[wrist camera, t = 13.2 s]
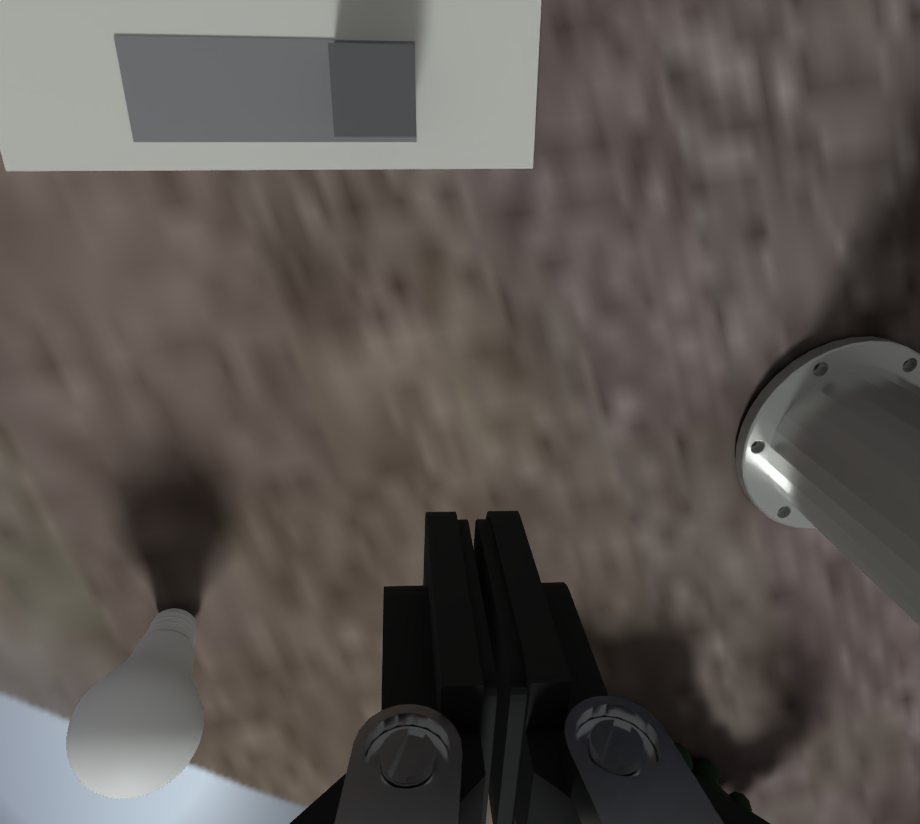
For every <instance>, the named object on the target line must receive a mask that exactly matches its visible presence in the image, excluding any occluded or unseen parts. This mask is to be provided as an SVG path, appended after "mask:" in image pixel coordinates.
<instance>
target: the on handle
mask: <svg viewBox="0 0 920 824" xmlns="http://www.w3.org/2000/svg"><path fill="white" fill-rule="evenodd" d="M328 53H329V68H330V82H331V97H332V111H333V126H334V137H416V92H415V44H362V43H328Z"/></svg>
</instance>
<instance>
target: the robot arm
mask: <svg viewBox="0 0 920 824" xmlns="http://www.w3.org/2000/svg"><path fill="white" fill-rule="evenodd" d="M735 463H736V469H737V475H738V479H739V481H740V484H741V486H742V488H743V491H744V492H745V494H746V495H747V496H748V498H749V499H750V500H751V501H752V503H753V504H754V505H755V506H756V507H757V508H758V509H760V510H761V511H762V512H763V513H764V514H765V515H766V516H768V517H769V518H771V519H772V520H774V521H776V522H778V523H781V524H784V525H787V526H791V527H795V528H805V529H816V528H817V529H818V530H819V531H820V532H821V533H822V534H823V535H824V536H825V537H826V538H827V539H828V540H829V541H830V542H832V543H833V544H834V545H835V546H836V547H837V548H838V549H839V550H840V551H841V552H842V553H843V554H844V555H845V556H846V557H847V558H848V559H850V560H851V561H852V562H853V563H854V564H855V565H856V566H857V567H858V568H859V569H860V570H861V571H862V572H863V573H864V574H865V575H866V576H868V577H869V578H870V579H871V580H872V581H873V582H874V583H875V584H876V585H877V586H878V587H879V588H880V589H881V590H882V591H883V592H884V593H886V594H887V595H888V596H889V597H890V598H891V599H892V600H893V601H894V602H895V603H896V604H897V605H898V606H899V607H900V608H901V609H902V610H903V611H905V612H906V613H907V614H908V615H909V616H910V617H911V618H912V619H913V620H914V621H915V622H916V623H917V624H918V625H919V626H920V354H919V353H917V352H916V351H914V350H912V349H911V348H909V347H907V346H904V345H902V344H900V343H897V342H895V341H892V340H890V339H885V338H879V337H873V336H866V337H850V338H846V339H841V340H837V341H833V342H830V343H828V344H825V345H823V346H820V347H818V348H815V349H813V350H811V351H809V352H808V353H806V354H804V355H803V356H801V357H799V358H798V359H796V360H794V361H793V362H791V363H790V364H789V365H788V366H787V367H785V368H784V369H783V370H782V371H780V372H779V373H778V374H777V375H776V376H775V377H774V378H773V379H772V380H771V381H770V382H769V383H768V384H767V386H766V387H765V388H764V389H763V390H762V391H761V392H760V394H759V395H758V397H757V398H756V400H755V401H754V403H753V404H752V406H751V407H750V409H749V411H748V413H747V415H746V417H745V419H744V422H743V424H742V426H741V429H740V433H739V437H738V441H737V444H736V460H735ZM488 793H489V800H490V807H491V814H492V821H493V824H770V823H768V822H767V821H765V820H763V819H762V818H760V817H759V816H757V815H755V814H754V813H752V812H751V811H749V810H747V809H746V808H744V807H743V806H741V805H739V804H738V803H736V802H735V801H733V800H731V799H730V798H728V797H727V796H725V795H723V794H722V793H720V792H719V791H717V790H715V789H714V788H712V787H711V786H709V785H707V784H706V783H704V782H703V781H701V780H699V779H698V778H696V777H695V776H694V775H693V773H692V771H691V770H690V768H689V767H688V765H687V763H686V762H685V760H684V758H683V757H682V755H681V754H680V752H679V750H678V749H677V747H676V746H675V744H674V742H673V741H672V739H671V737H670V736H669V734H668V733H667V731H666V729H665V728H664V727H663V726H662V724H661V723H660V722H659V721H658V720H657V718H656V717H655V716H654V715H652V714H651V713H650V712H648V711H647V710H646V709H645V708H643V707H642V706H640V705H638V704H636V703H633V702H631V701H629V700H627V699H623V698H618V697H613V696H608V694H607V691H606V688H605V686H604V683H603V680H602V678H601V675H600V672H599V670H598V667H597V664H596V661H595V659H594V656H593V653H592V651H591V648H590V645H589V643H588V640H587V637H586V634H585V632H584V629H583V626H582V624H581V621H580V618H579V616H578V613H577V610H576V607H575V605H574V602H573V599H572V597H571V594H570V591H569V589H568V587H567V585H566V584H565V583H564V582H557V583H541V581H540V578H539V574H538V571H537V568H536V565H535V562H534V559H533V555H532V552H531V549H530V546H529V543H528V540H527V536H526V533H525V530H524V527H523V524H522V521H521V518H520V514H519V512H518V511H488V512H487V516H486V519H477V520H476V524H475V537H474V550H473V544H472V539H471V534H470V528H469V523H468V520H457V514H456V512H426V515H425V545H424V580H423V586H389V587H384V606H383V661H382V711H380V712H378V713H377V714H375V715H374V716H372V717H371V718H369V719H368V720H367V722H366V723H365V724H364V725H363V726H362V727H361V729H360V730H359V732H358V734H357V736H356V739H355V741H354V743H353V747H352V751H351V756H350V760H349V764H348V768H347V772H346V774H345V775H344V776H343V777H341V778H340V779H339V780H338V781H337V782H336V783H335V784H334V785H332V786H331V787H330V788H329V789H328V790H327V791H326V792H325V793H323V794H322V795H321V796H320V797H319V798H318V799H317V800H316V801H314V802H313V803H312V804H311V805H310V806H309V807H308V808H307V809H306V810H304V811H303V812H302V813H301V814H300V815H299V816H298V817H297V818H296V819H294V820H293V821H292V822H291V823H290V824H485V823H486V813H487V802H488Z"/></svg>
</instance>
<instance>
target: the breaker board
mask: <svg viewBox="0 0 920 824" xmlns="http://www.w3.org/2000/svg"><path fill="white" fill-rule="evenodd" d="M540 17H541V0H0V151H1V154H2V158H3V162H4V166H5V169H6V171H136V170H334V169H531V168H533V156H534V136H535V116H536V97H537V77H538V57H539V37H540ZM328 43H362V44H415V92H416V137H334V126H333V111H332V97H331V82H330V68H329V53H328Z"/></svg>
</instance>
